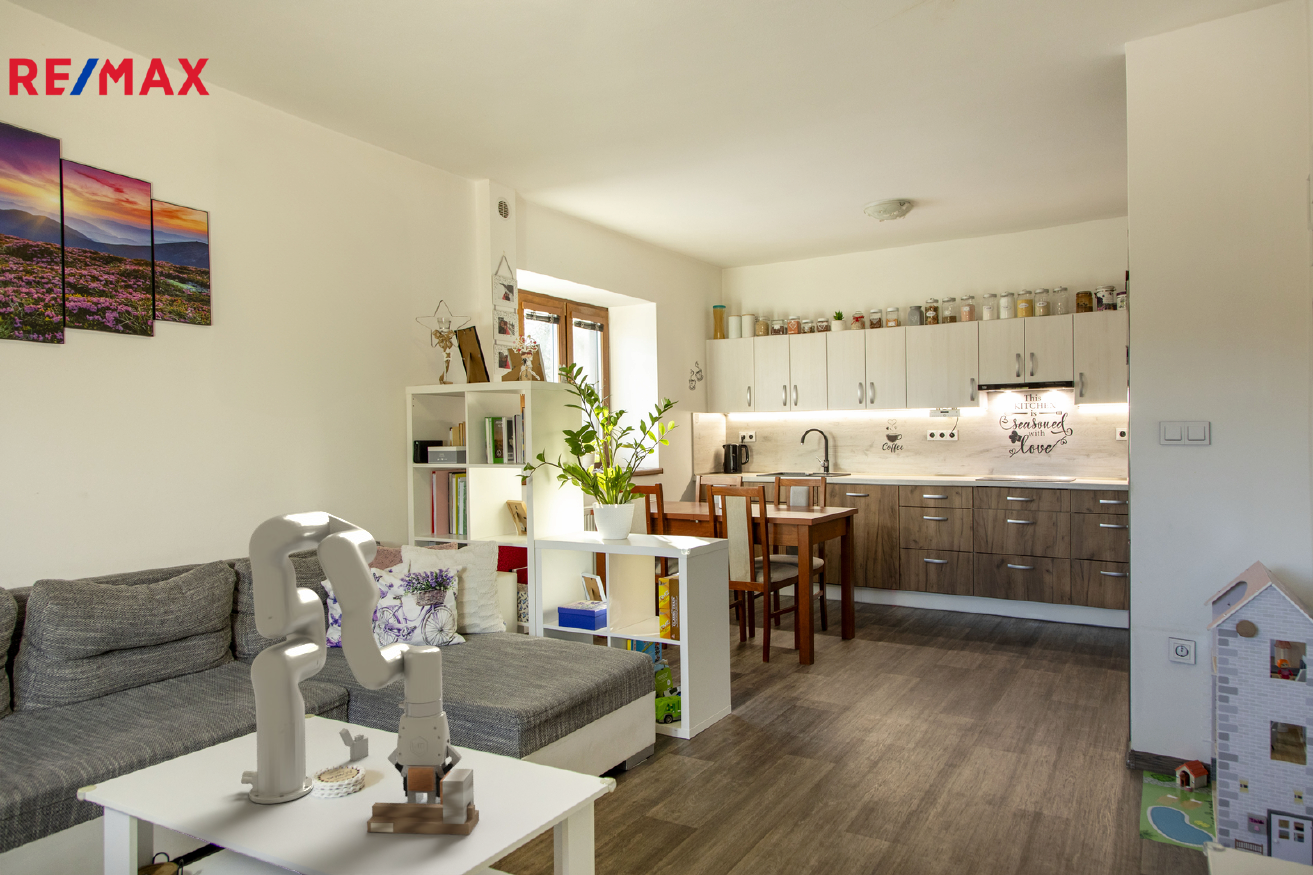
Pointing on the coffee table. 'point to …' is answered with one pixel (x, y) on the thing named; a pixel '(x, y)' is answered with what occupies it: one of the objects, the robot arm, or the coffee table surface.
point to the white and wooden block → (422, 784)
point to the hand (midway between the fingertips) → (425, 793)
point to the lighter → (355, 744)
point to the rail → (432, 810)
